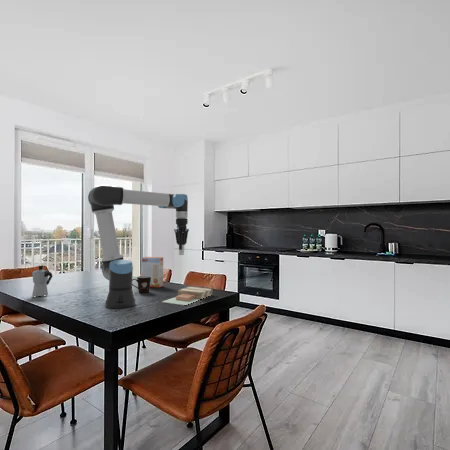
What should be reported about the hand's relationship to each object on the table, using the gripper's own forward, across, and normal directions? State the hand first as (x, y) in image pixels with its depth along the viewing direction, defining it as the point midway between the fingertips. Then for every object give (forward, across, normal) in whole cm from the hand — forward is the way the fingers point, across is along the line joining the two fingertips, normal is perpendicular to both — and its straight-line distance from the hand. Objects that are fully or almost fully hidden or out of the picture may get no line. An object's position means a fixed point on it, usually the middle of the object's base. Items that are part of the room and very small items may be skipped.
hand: (181, 254), depth 194 cm
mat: (+24, -19, -14) cm, 34 cm away
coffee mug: (+24, -12, +22) cm, 35 cm away
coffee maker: (+24, -51, +65) cm, 86 cm away
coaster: (+24, -15, -14) cm, 31 cm away
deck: (+24, -4, -13) cm, 28 cm away
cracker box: (+24, +6, +30) cm, 39 cm away
